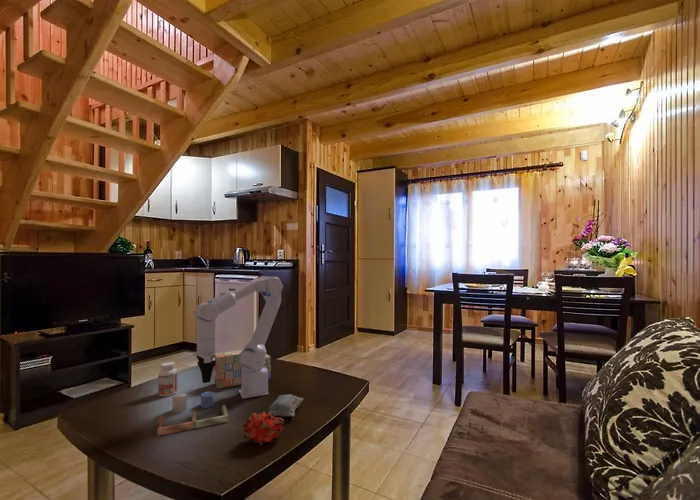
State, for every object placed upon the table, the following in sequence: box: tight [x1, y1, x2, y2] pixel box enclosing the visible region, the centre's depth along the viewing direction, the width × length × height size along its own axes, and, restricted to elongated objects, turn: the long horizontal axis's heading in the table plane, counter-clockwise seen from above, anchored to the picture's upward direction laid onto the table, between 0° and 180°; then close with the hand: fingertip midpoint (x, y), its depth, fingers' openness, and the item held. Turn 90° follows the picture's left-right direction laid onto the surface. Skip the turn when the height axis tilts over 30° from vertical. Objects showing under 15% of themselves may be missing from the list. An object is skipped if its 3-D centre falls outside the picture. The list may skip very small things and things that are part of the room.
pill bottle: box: [157, 361, 178, 397], centre depth 129 cm, size 6×6×11 cm
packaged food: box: [267, 393, 304, 418], centre depth 112 cm, size 9×12×5 cm
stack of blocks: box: [214, 349, 272, 389], centre depth 142 cm, size 21×6×12 cm, turn 120°
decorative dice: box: [200, 391, 215, 409], centre depth 118 cm, size 4×4×4 cm
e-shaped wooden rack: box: [157, 404, 229, 437], centre depth 106 cm, size 19×9×2 cm, turn 116°
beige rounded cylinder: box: [171, 393, 188, 414], centre depth 114 cm, size 4×4×4 cm
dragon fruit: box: [241, 411, 287, 446], centre depth 94 cm, size 8×8×12 cm
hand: (205, 378), depth 117 cm, fingers open, 7 cm apart
